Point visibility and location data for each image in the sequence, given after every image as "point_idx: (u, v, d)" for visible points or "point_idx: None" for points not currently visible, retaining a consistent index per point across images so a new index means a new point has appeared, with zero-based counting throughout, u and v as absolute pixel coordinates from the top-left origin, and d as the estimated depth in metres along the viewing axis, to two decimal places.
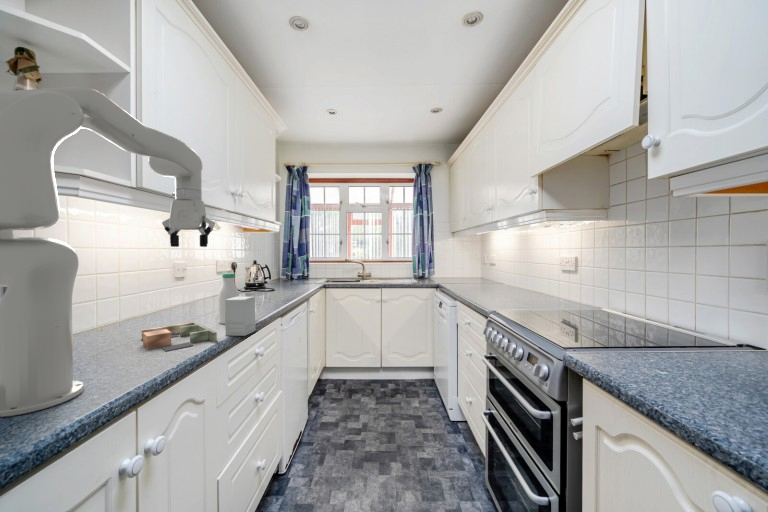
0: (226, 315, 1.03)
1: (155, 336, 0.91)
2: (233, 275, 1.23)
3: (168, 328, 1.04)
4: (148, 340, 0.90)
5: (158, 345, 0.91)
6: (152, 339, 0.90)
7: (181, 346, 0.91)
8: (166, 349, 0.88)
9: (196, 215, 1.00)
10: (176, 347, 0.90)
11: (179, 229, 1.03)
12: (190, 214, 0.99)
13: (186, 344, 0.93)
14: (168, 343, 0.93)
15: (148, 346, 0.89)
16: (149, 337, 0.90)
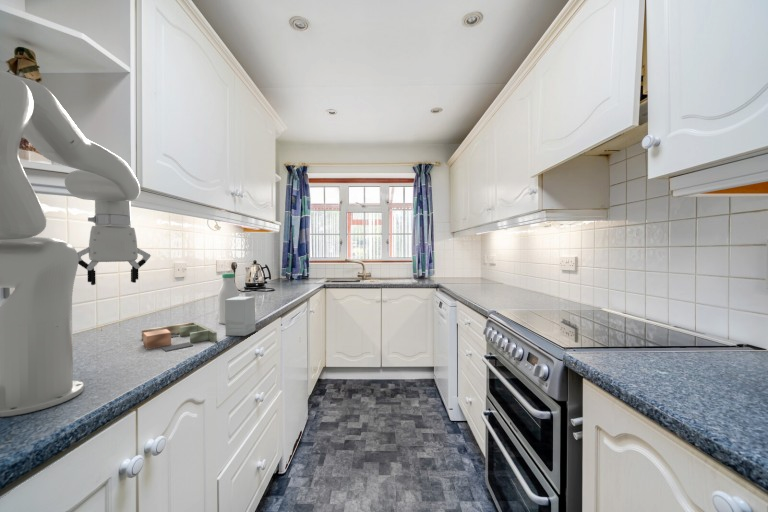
0: (226, 315, 1.03)
1: (155, 336, 0.91)
2: (233, 275, 1.23)
3: (168, 328, 1.04)
4: (148, 340, 0.90)
5: (158, 345, 0.91)
6: (152, 339, 0.90)
7: (181, 346, 0.91)
8: (166, 349, 0.88)
9: (133, 246, 0.87)
10: (176, 347, 0.90)
11: None
12: (125, 244, 0.86)
13: (186, 344, 0.93)
14: (168, 343, 0.93)
15: (147, 347, 0.89)
16: (149, 337, 0.90)
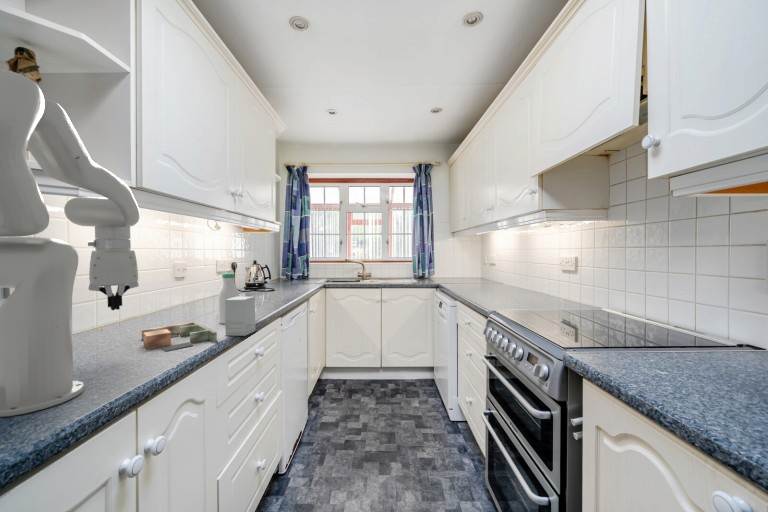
0: (226, 315, 1.03)
1: (154, 336, 0.91)
2: (233, 275, 1.23)
3: (168, 328, 1.04)
4: (147, 340, 0.90)
5: (157, 345, 0.91)
6: (152, 339, 0.90)
7: (181, 346, 0.91)
8: (166, 349, 0.88)
9: (134, 269, 0.87)
10: (176, 347, 0.90)
11: None
12: (126, 268, 0.86)
13: (186, 344, 0.93)
14: (168, 343, 0.93)
15: (147, 347, 0.89)
16: (148, 337, 0.90)
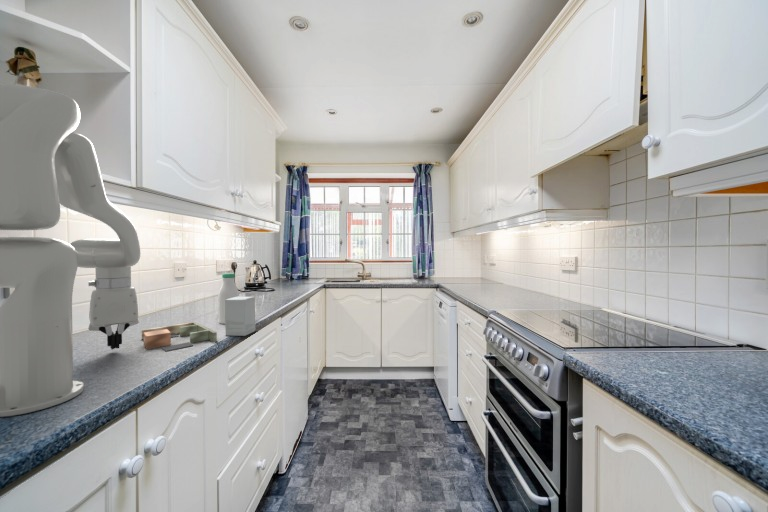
0: (226, 315, 1.03)
1: (154, 336, 0.91)
2: (233, 275, 1.23)
3: (168, 328, 1.04)
4: (147, 340, 0.90)
5: (157, 345, 0.91)
6: (151, 339, 0.90)
7: (181, 346, 0.91)
8: (166, 349, 0.88)
9: (134, 306, 0.87)
10: (176, 347, 0.90)
11: None
12: (126, 306, 0.86)
13: (186, 344, 0.93)
14: (167, 343, 0.93)
15: (147, 346, 0.89)
16: (148, 337, 0.90)
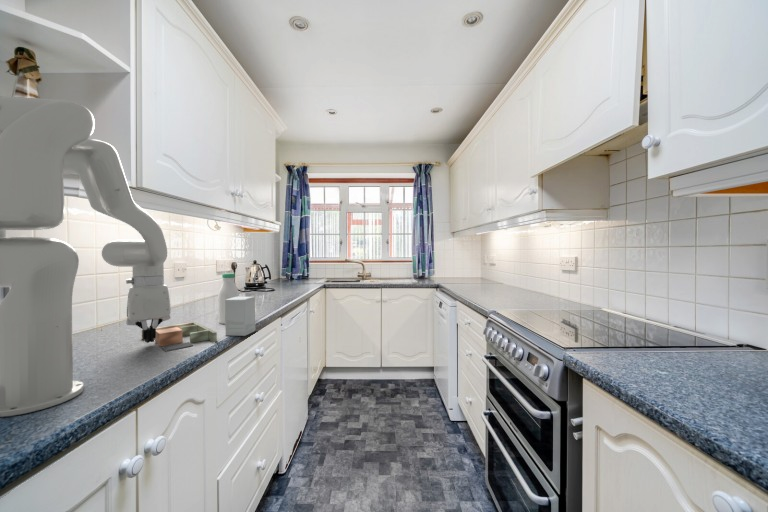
0: (226, 315, 1.03)
1: (167, 334, 0.93)
2: (233, 275, 1.23)
3: None
4: (160, 337, 0.92)
5: (170, 342, 0.94)
6: (164, 336, 0.93)
7: (181, 346, 0.91)
8: (166, 349, 0.88)
9: (167, 303, 0.93)
10: (176, 347, 0.90)
11: None
12: (160, 303, 0.92)
13: (186, 344, 0.93)
14: (179, 341, 0.96)
15: (160, 344, 0.92)
16: (161, 335, 0.92)
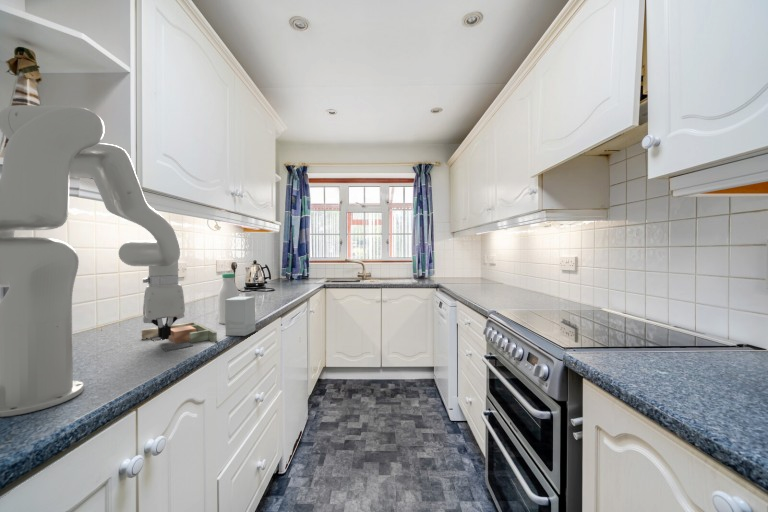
0: (226, 315, 1.03)
1: (181, 332, 0.96)
2: (233, 275, 1.23)
3: None
4: (175, 336, 0.95)
5: (184, 340, 0.97)
6: (179, 334, 0.96)
7: (181, 346, 0.91)
8: (166, 349, 0.88)
9: (181, 301, 0.96)
10: (176, 347, 0.90)
11: None
12: (175, 301, 0.95)
13: (186, 344, 0.93)
14: None
15: (175, 342, 0.95)
16: (176, 333, 0.95)
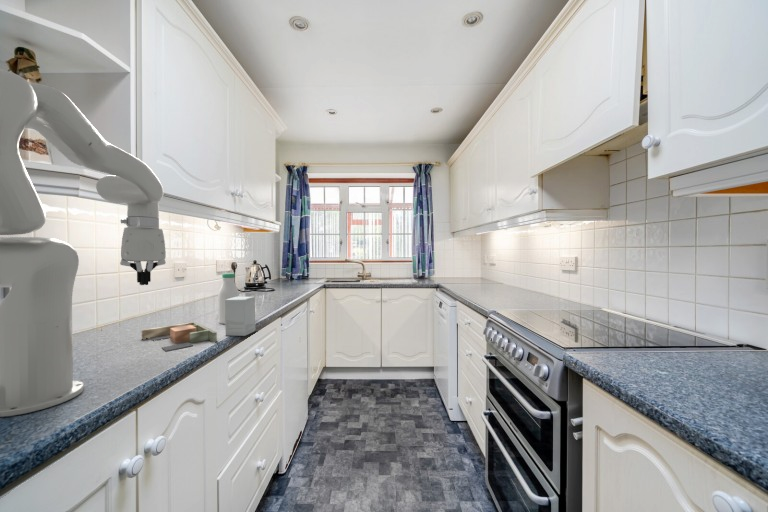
0: (226, 315, 1.03)
1: (182, 331, 0.96)
2: (233, 275, 1.23)
3: (168, 328, 1.04)
4: (176, 335, 0.95)
5: (185, 340, 0.97)
6: (179, 334, 0.96)
7: (181, 346, 0.91)
8: (166, 349, 0.88)
9: (162, 246, 0.92)
10: (176, 347, 0.90)
11: None
12: (155, 245, 0.91)
13: (186, 344, 0.93)
14: None
15: (175, 341, 0.95)
16: (176, 332, 0.95)
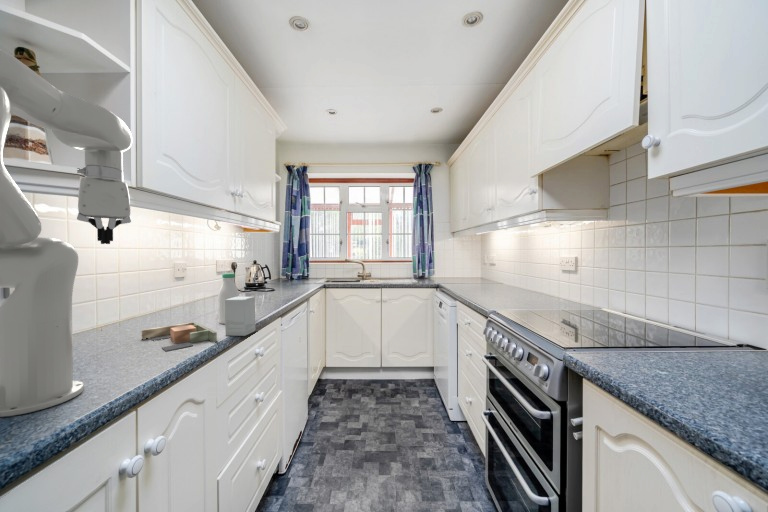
0: (226, 315, 1.03)
1: (181, 331, 0.96)
2: (233, 275, 1.23)
3: (168, 328, 1.04)
4: (175, 335, 0.95)
5: (184, 340, 0.97)
6: (179, 334, 0.96)
7: (181, 346, 0.91)
8: (166, 349, 0.88)
9: (126, 202, 0.83)
10: (176, 347, 0.90)
11: None
12: (117, 200, 0.81)
13: (186, 344, 0.93)
14: None
15: (175, 341, 0.95)
16: (176, 332, 0.95)
